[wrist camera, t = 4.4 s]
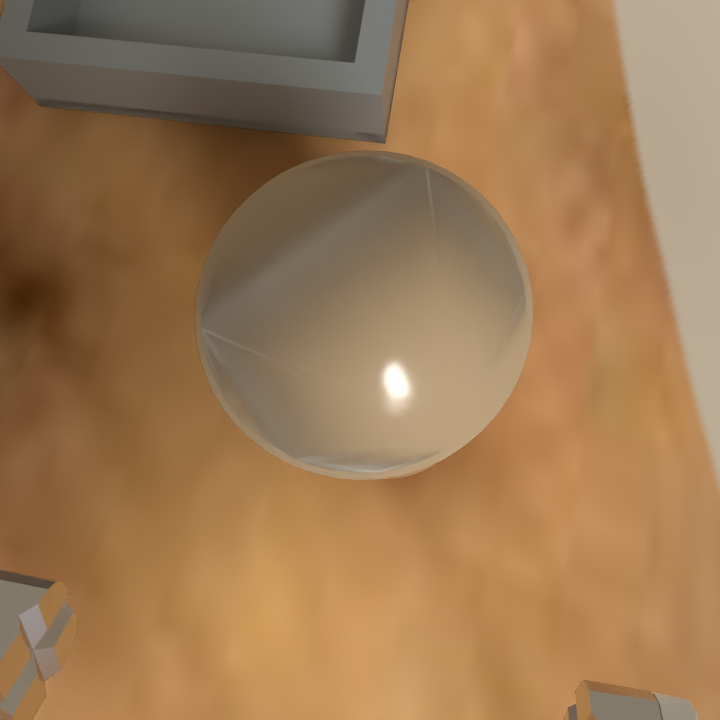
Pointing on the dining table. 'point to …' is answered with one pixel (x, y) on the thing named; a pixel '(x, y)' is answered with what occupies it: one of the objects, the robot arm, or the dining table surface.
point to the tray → (213, 60)
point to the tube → (364, 315)
